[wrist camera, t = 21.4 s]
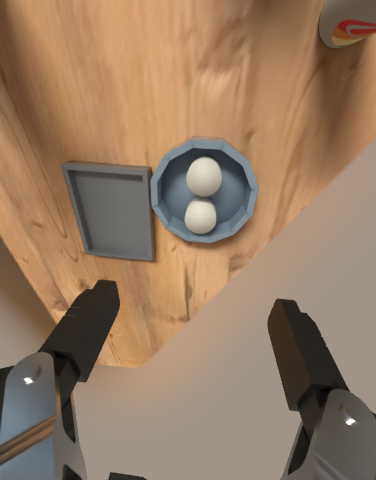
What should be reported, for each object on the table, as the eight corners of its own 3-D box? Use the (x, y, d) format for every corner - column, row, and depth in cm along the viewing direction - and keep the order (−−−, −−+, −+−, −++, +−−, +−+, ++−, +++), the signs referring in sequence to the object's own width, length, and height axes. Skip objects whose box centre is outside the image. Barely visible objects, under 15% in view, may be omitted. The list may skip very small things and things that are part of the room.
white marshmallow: (187, 220, 37) (184, 232, 33) (187, 194, 34) (184, 204, 31) (214, 221, 37) (214, 234, 33) (217, 195, 34) (217, 206, 30)
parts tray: (92, 247, 44) (86, 254, 42) (70, 160, 34) (60, 164, 32) (155, 253, 43) (152, 261, 41) (151, 166, 34) (147, 170, 32)
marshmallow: (188, 185, 34) (185, 195, 30) (190, 153, 31) (187, 159, 27) (218, 188, 33) (219, 197, 30) (222, 155, 31) (224, 162, 27)
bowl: (158, 225, 40) (153, 237, 36) (155, 133, 31) (148, 136, 27) (241, 233, 39) (244, 246, 35) (262, 140, 30) (269, 144, 26)
